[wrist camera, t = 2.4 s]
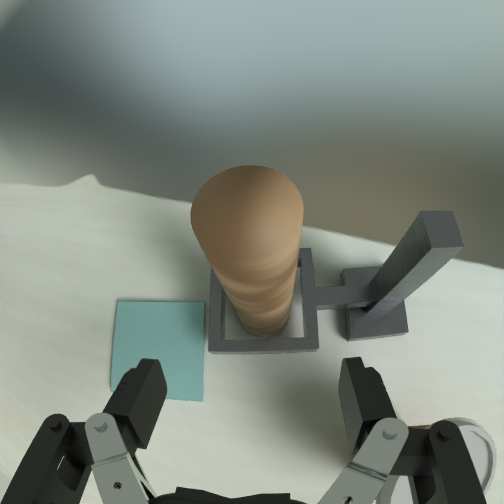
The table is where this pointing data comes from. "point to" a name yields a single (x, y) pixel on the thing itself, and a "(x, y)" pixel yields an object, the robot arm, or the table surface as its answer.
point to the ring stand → (354, 291)
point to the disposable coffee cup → (481, 451)
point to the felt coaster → (162, 344)
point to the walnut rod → (252, 241)
